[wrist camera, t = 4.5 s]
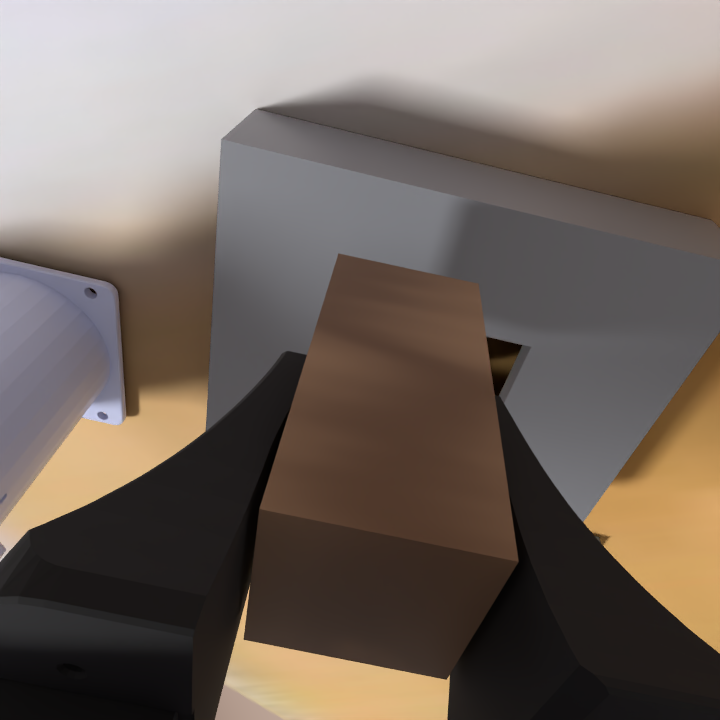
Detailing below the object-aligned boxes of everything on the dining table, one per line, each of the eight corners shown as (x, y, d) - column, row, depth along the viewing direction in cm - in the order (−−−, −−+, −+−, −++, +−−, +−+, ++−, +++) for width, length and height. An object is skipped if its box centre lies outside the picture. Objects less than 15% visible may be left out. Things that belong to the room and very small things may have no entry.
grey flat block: (229, 412, 27) (203, 471, 24) (255, 108, 19) (221, 139, 16) (548, 483, 28) (563, 549, 25) (711, 219, 19) (763, 270, 16)
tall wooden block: (318, 365, 16) (243, 639, 10) (338, 253, 14) (259, 509, 8) (440, 391, 16) (446, 679, 10) (478, 283, 14) (518, 562, 8)
